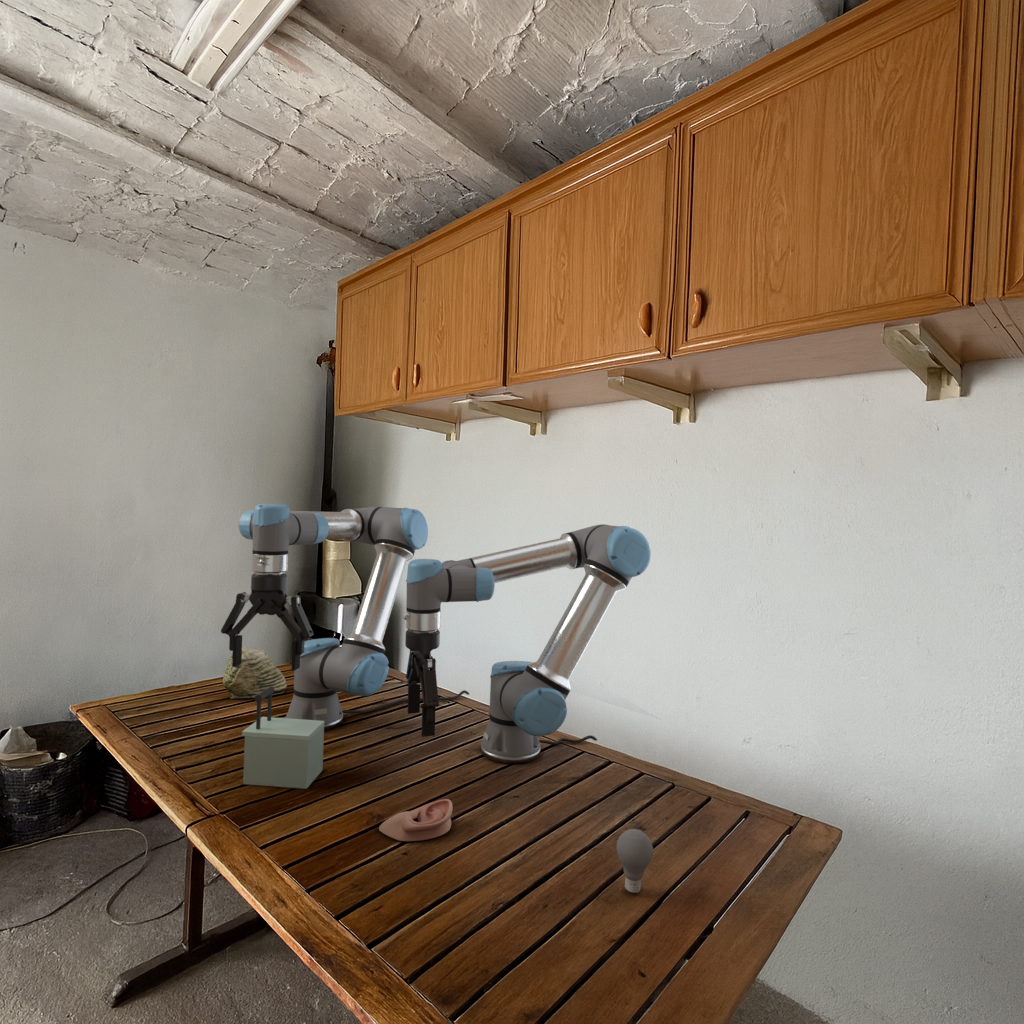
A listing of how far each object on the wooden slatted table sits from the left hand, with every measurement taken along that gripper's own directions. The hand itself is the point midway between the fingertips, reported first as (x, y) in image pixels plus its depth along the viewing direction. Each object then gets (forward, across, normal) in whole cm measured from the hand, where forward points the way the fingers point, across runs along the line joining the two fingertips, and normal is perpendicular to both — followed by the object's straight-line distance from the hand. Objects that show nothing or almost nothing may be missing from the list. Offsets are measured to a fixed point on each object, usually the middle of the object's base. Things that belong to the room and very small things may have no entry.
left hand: (266, 667), depth 142 cm
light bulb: (+24, +79, -32) cm, 88 cm away
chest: (+24, +5, 0) cm, 25 cm away
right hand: (+11, +35, +1) cm, 37 cm away
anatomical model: (+24, +39, -17) cm, 49 cm away
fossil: (+24, -28, +54) cm, 65 cm away
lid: (+14, +5, 0) cm, 15 cm away
